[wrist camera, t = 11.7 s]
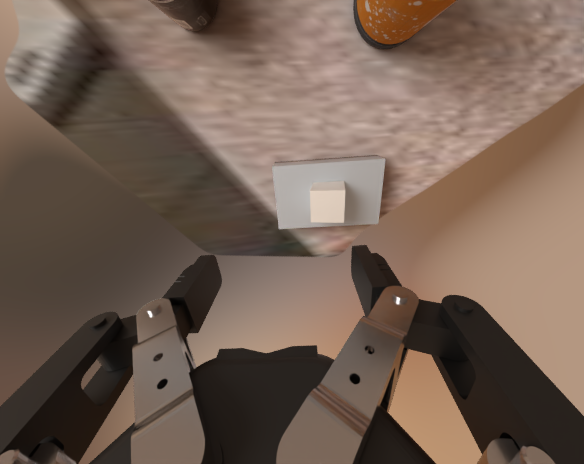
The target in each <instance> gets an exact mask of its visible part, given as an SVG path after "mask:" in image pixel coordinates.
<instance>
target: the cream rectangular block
mask: <svg viewBox="0 0 584 464" xmlns="http://www.w3.org/2000/svg"><path fill="white" fill-rule="evenodd" d="M310 210H311V222H321V223H344V211H345V184H344V181H330V182H315V183H313V184H312V187H311V189H310Z"/></svg>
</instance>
